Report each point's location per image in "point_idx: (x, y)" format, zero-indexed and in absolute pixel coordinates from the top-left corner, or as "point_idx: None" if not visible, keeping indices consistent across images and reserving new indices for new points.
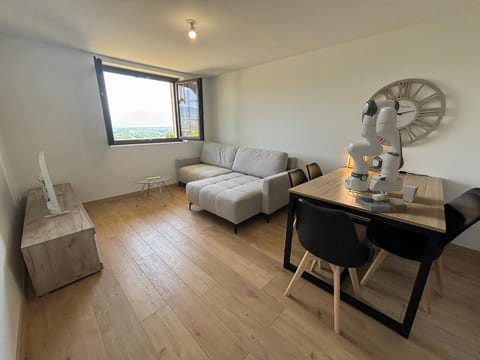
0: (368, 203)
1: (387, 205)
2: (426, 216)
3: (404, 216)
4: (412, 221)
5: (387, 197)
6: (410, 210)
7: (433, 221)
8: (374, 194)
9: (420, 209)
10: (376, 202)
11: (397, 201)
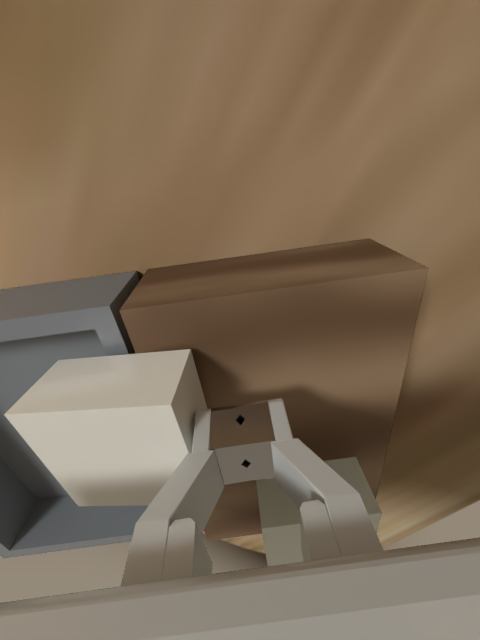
0: (46, 363)
1: None
2: (415, 495)
3: None
4: (257, 549)
5: (366, 317)
6: (408, 433)
7: (381, 533)
8: (55, 413)
9: None
10: None
11: None
